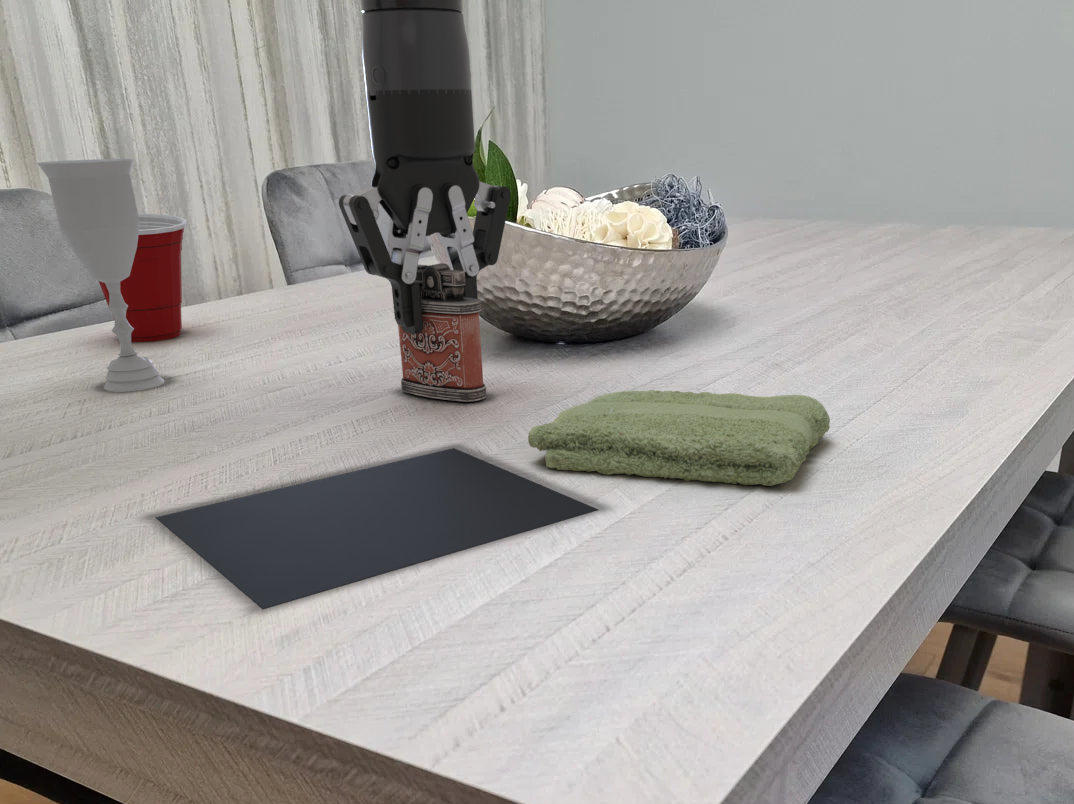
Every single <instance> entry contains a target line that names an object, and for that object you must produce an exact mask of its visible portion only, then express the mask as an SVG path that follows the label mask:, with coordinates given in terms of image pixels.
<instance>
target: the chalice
mask: <svg viewBox="0 0 1074 804" xmlns="http://www.w3.org/2000/svg"><path fill="white" fill-rule="evenodd" d="M134 160H135V159H134V158H100V159H73V160H72V159H71V160H55V161H42V162H37V165H38V167H40V169H41V170H42V171H43V173H44V174H45V176H46V177H47V180H48V184H49V188H50V192H51V197H52V200H53V205H54V209H55V215H56V219H57V223H58V227H59V230H60V231H61V233H62V235H63V237H64V239H65V241H66V242H67V244H68V246H69V248H70V249H71V250H72V252H73V253H74V255H75V256H76V258H77V259H78V261H79V262H80V263H81V265H82V266H83V267H84V268H85V270H86V271H87V273H88V274H89V275H90V276H91V278H92V279H93V280H95V281H97V282H99V281H100V282H104V283H105V284H106V287H107V289H108V291H109V306H108V305H107V309H108V310H109V311H110V312H111V314H112V317H113V316H114V317H113V319H114V318H115V320H114V326H113V327H112V329H111V332H112V333H114V334H115V335H116V337H117V340H118V342H119V346H120V347H119V348H120V349H119V353H118V354H117V356H118V357H117V358H116V359H113V360H111V361H110V362H109V365H108V366H107V370H108V371H107V373H106V375H105V380H106V382H105V384H104V386H103V388H104V390H106V391H108V392H114V393H115V392H117V393H121V392H122V393H123V392H124V393H125V392H136V391H137V392H138V391H143V390H150V389H153V388H157V387H159V386H162V385H163V384H164V383H165V380H164V378H162V376H161V375H160V371H159V370H158V369H157V368H156V367H155V366H154V362H153V361H152V360H151V359H149V358H148V357H146V356H141V355H139V352H138V351H136V350H135V348H134V346H133V342H131V332H132V331H133V330H134V328H133V327H132V326H130V325H129V323H128V321H127V319H126V310H127V308H128V305H127V304H126V303H125V302H124V300H123V297H122V295H121V292H120V281H122V280H124V279H126V278H127V277H129V276H130V272H131V268H132V264H133V260H134V257H135V253H136V249H137V243H138V234H139V226H140V222H139V217H138V214H139V212H138V208H137V203H136V198H135V197H136V196H135V193H134V189H133V184H132V177H131V172H132V169H133V164H134Z"/></svg>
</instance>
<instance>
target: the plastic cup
mask: <svg viewBox="0 0 1074 804" xmlns="http://www.w3.org/2000/svg"><path fill="white" fill-rule="evenodd" d="M138 217H139V222H140V226H139V234H138V243H137V249H136V253H135V257H134V260H133V264H132V268H131V272H130V276H129V277H127V278H126V279H124V280H122V281H120V292H121V295H122V297H123V300H124V302H125V303H126V304H127V305H128V308H127V310H126V319H127V321H128V323H129V325H130V326H132V327H133V328H134V330H133V331H132V332H131V343H147V342H148V343H149V342H151V343H152V342H159V341H166V340H170V339H175V338H177V337H180V336H181V335H182V328H183V324H182V322H183V321H182V303H183V287H182V286H183V285H182V284H183V283H182V278H183V277H182V250H183V239H184V231H185V228H186V227H187V225H188V219H185V218H183V217H182V216H175V215H171V214H161V213H160V214H159V213H158V214H157V213H138ZM98 283H99V286H100V289H101V292H102V294H103V296H104V300H105V302H106V305H107V307H108V306H109V291H108V289H107V287H106V284H105V283H104V282H100V281H98ZM112 317H113V319H114V321H115V318H114V316H113V315H112Z"/></svg>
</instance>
